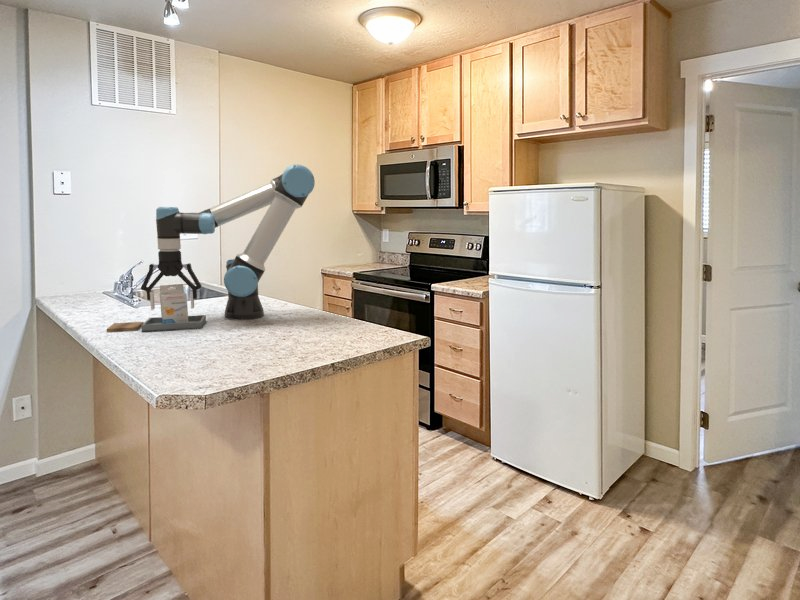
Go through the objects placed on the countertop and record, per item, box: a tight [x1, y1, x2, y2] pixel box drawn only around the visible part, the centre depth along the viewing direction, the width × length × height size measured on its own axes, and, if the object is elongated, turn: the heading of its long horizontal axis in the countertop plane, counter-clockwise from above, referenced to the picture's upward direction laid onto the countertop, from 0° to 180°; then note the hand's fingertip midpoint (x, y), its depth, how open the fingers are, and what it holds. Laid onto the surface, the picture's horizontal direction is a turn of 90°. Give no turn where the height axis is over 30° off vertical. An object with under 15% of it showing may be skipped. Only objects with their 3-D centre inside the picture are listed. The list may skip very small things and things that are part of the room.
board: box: [106, 321, 145, 333], centre depth 192 cm, size 10×10×1 cm
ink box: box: [159, 283, 189, 324], centre depth 193 cm, size 8×5×15 cm, turn 123°
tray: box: [140, 314, 207, 333], centre depth 194 cm, size 20×14×2 cm
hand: (173, 308), depth 193 cm, fingers open, 13 cm apart
